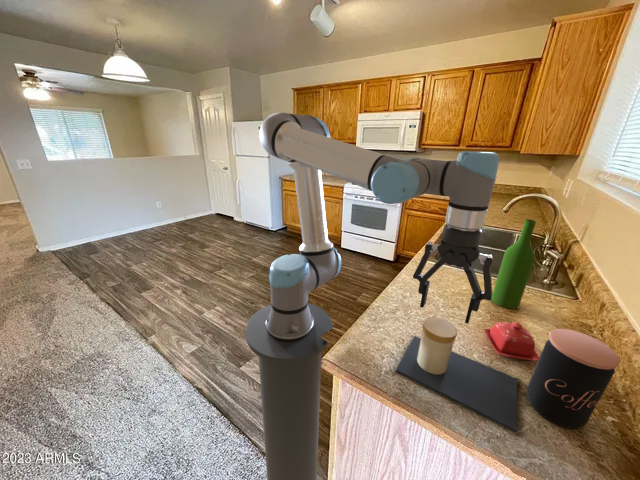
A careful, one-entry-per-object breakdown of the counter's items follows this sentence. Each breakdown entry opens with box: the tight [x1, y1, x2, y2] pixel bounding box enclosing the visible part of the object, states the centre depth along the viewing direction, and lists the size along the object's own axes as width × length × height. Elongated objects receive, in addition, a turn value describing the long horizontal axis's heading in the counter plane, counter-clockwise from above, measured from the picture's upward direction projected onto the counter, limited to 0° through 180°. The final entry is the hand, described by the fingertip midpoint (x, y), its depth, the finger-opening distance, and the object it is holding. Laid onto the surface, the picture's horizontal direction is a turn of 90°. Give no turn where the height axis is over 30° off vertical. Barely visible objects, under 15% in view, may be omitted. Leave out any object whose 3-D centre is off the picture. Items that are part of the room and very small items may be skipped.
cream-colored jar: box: [417, 330, 455, 374], centre depth 69 cm, size 8×8×11 cm
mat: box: [395, 335, 518, 433], centre depth 68 cm, size 26×16×1 cm, turn 55°
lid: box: [422, 317, 458, 343], centre depth 67 cm, size 8×8×2 cm
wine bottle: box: [491, 218, 537, 310], centre depth 95 cm, size 9×9×32 cm
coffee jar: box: [526, 328, 621, 429], centre depth 57 cm, size 11×11×18 cm
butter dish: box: [483, 321, 540, 362], centre depth 77 cm, size 12×12×8 cm
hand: (444, 312), depth 65 cm, fingers open, 10 cm apart
